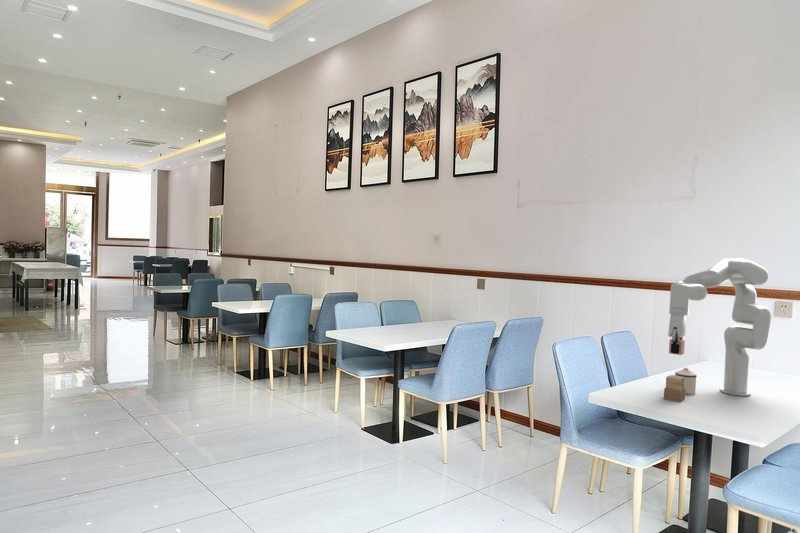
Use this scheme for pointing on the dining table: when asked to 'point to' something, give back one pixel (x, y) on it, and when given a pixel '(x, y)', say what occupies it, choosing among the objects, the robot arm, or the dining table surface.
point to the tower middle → (675, 382)
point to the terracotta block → (681, 347)
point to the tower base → (674, 395)
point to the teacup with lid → (688, 380)
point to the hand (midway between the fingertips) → (676, 352)
